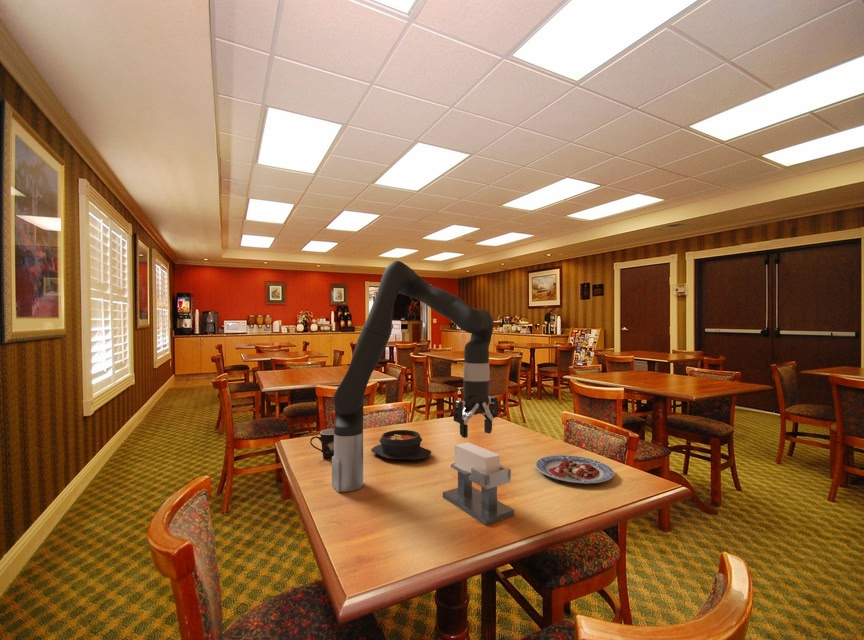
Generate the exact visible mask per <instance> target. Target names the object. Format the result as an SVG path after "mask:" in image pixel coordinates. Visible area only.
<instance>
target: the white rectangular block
mask: <svg viewBox="0 0 864 640" xmlns="http://www.w3.org/2000/svg"><path fill="white" fill-rule="evenodd" d="M500 459H501V457H500V454H499V453H497V452H493V451H491V450H489V449H487V448H483V447H481V446H478V445H476V444H474V443H471V442H469V441H468V442H464V443H463V442H462V443H459V444H455V445H454V463H455V465H456V466H458V467H460V468H462V469H464V470H466V471H468V472H469V473H471V468H476V469H478V470H480V471H482V472H484V473H486V474H489V473H492V472H496V471H500V465H501V461H500Z"/></svg>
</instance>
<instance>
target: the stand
mask: <svg viewBox="0 0 864 640" xmlns="http://www.w3.org/2000/svg"><path fill="white" fill-rule="evenodd" d="M450 468H452V469H454V470H456V471H457V487H456V488H452V489H449V490H445V491H442V498H444V499H445V500H446V501H448V502H450V503H451V504H452V505H454V506H455V507H456V508H458V509H460V510H462V511H463V512H464V513H466V514H468V515H469V516H471V517H472V518H474V519H475V520H477V521H478V522H480V523H481V524H483V525H484V526H489V525H492V524H494V522H495V523H497V521H498V522H500V521H502V519H503V520H505V518H506V519H509V518H511V517H514V516H515V509H513V508H512V507H510V506H508V505H506V504H504V503H503V502H501V501H499V500H498V487H500V486H502V485H507V484H510V483H512V480H511V479H512V478H511V477H512V476H511V474H512V472H511V471H512V470H511V468H510V467H509V468H508V467H506V466H504V465H502V464H500V471H496V472H492V473H489V474H486V473H484V472H482V471H480V470H478V469H476V468H471V473H469V472H468V471H466V470H464V469H462V468H460V467H458V466H456V465H455V462H454V463H450ZM473 483H474V484H476V485H478V486H479V487H480V488H481V489H480V490H479V489H478V488H476V487H474V486H473ZM508 517H509V518H508Z"/></svg>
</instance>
